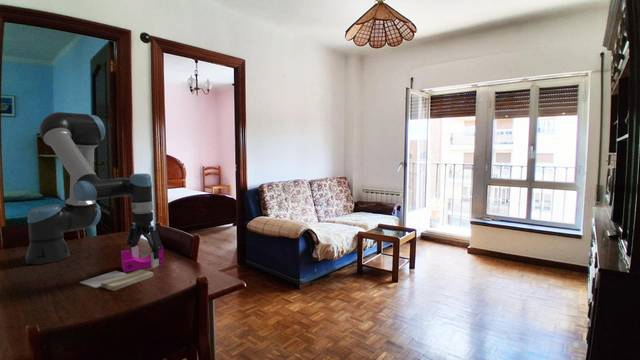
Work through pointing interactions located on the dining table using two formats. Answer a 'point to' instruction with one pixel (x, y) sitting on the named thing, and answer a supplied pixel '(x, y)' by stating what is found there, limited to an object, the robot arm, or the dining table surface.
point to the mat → (102, 279)
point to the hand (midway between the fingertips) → (145, 264)
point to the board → (126, 279)
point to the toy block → (137, 261)
